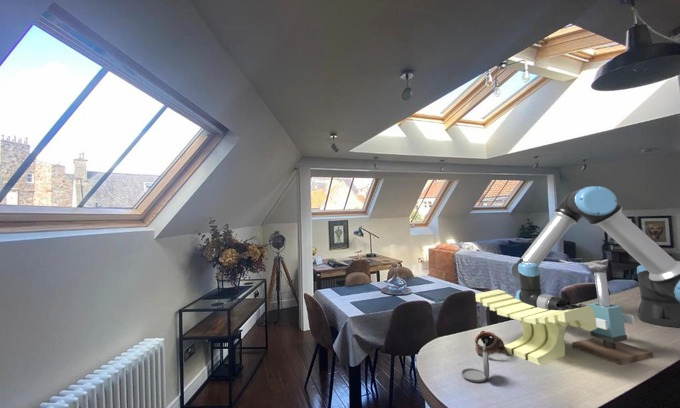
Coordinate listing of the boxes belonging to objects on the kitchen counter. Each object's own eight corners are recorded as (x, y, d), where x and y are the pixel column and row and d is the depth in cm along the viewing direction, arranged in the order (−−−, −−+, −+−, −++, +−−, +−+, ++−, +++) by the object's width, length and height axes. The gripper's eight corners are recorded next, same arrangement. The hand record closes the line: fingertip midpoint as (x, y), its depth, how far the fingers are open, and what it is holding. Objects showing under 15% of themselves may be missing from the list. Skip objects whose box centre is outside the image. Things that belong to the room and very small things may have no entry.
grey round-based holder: (457, 373, 86) (454, 338, 87) (484, 370, 87) (480, 336, 88) (472, 387, 78) (468, 349, 79) (501, 384, 79) (497, 346, 80)
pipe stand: (602, 340, 103) (592, 268, 105) (653, 356, 89) (640, 273, 92) (572, 346, 99) (563, 272, 102) (620, 364, 86) (608, 278, 88)
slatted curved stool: (601, 363, 87) (593, 303, 89) (572, 377, 80) (564, 312, 82) (507, 333, 114) (503, 288, 116) (480, 342, 107) (475, 293, 109)
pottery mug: (516, 361, 92) (505, 341, 91) (490, 374, 93) (478, 354, 92) (496, 337, 104) (486, 319, 103) (473, 349, 105) (463, 331, 104)
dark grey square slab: (604, 333, 98) (604, 328, 99) (627, 339, 92) (626, 334, 92) (591, 335, 97) (590, 331, 97) (613, 342, 91) (612, 337, 91)
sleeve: (604, 328, 98) (600, 302, 99) (625, 334, 93) (621, 306, 93) (591, 331, 97) (587, 304, 98) (612, 337, 91) (608, 308, 92)
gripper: (578, 312, 115) (647, 329, 94) (531, 319, 109) (594, 340, 88) (575, 293, 116) (644, 306, 95) (528, 299, 110) (590, 315, 89)
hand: (620, 322), depth 91 cm, fingers open, 11 cm apart
